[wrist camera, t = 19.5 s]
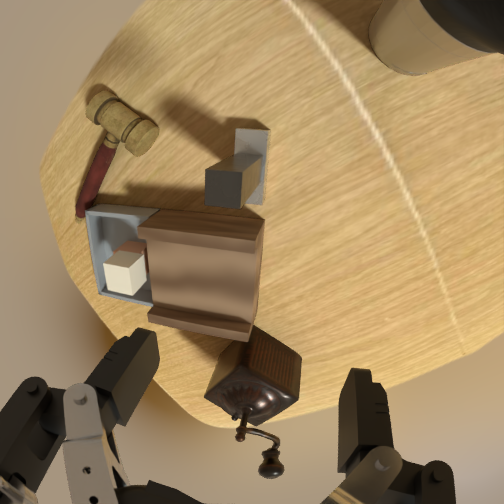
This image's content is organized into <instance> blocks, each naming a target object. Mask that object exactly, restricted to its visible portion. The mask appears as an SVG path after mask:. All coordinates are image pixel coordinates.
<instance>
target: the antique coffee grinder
mask: <svg viewBox="0 0 504 504" xmlns="http://www.w3.org/2000/svg"><path fill="white" fill-rule="evenodd" d="M301 363H302V357H301V356H300V355H298V354H297V353H296V352H295V351H294V350H292V349H291V348H289V347H288V346H286V345H285V344H283V343H281V342H280V341H278V340H277V339H275V338H274V337H272V336H270V335H269V334H267V333H265V332H264V331H262V330H260V329H259V328H257V327H255V326H254V325H253V327H252V330H251V334H250V337H249V341H248V342H244V341H238V340H234V341H233V342H232V343H231V344H230V345H229V346H228V347H227V348H226V349H225V350H224V351H223V352H222V353H221V354H220V356H219V359H218V362H217V365H216V367H215V370H214V372H213V375H212V377H211V380H210V382H209V385H208V387H207V390H206V393H205V395H204V398H206V399H207V400H209V401H210V402H212V403H214V404H215V405H217V406H219V407H221V408H222V409H223V410H224V411H225V412H227V413H228V414H230V415H231V416H232V417H231V418H232V420H234V421H236V420H237V419H238V418H239V419H241V422H240V426H239V427H237V428H236V431H237V434H236V436H235V438H236V440H237V441H238V442H242V441H244V440H245V434H246V433H249V434H254V435H259V436H262V437H265V438H267V439H270V440H272V441H273V442H274V443H273V446H272V448H269V449H267V450H266V451H263V452H262V456H263V458H264V461H263V463H262V464H261V465H260V466H259V469H258V472H259V474H260V475H261V476H263V477H264V478H267V479H268V478H269V479H273V478H277V477H279V476H281V475H282V474H283V472H284V465H282V463H281V462H280V461H279V459H278V457H279V455H280V451H278V450H277V449H278V448H279V446H280V439H279V438H278V437H276V436H275V435H273V434H270V433H267V432H264V431H262V430H258V429H255V428H247V427H246V425H247V422H248V423H250V424H252V425H254V426H258V425H260V424H262V423H263V422H265V421H267V420H269V419H270V418H272V417H274V416H275V415H277V414H279V413H280V412H282V411H283V410H285V409H287V408H288V407H289V406H291V405H292V404H294V403H295V402H296V401H298V399H299V391H300V378H301Z"/></svg>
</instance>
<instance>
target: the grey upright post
mask: <svg viewBox="0 0 504 504" xmlns="http://www.w3.org/2000/svg"><path fill="white" fill-rule="evenodd" d="M270 136H271V130H264V129H251V128H236V134H235V150H234V155H232V156H230V157H228V158H226V159H224V160H222V161H220V162H218V163H216V164H215V165H213V166H211V167H209V168H207V169H206V170H205V205H208V206H217V207H226V208H234V209H241V208H242V206H243V205H244V204H245V203H247V204H256V205H263V203H264V201H265V196H266V184H267V172H268V160H269V148H270Z"/></svg>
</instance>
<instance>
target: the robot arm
mask: <svg viewBox="0 0 504 504" xmlns="http://www.w3.org/2000/svg"><path fill="white" fill-rule="evenodd" d="M369 40H370V43H371V46H372V48H373V50H374V52H375V53H376V55H377V57H378V58H379V59H380V60H381V61H382V62H383V63H384V64H385V65H387V66H388V67H389V68H391V69H393V70H394V71H396V72H398V73H401V74H404V75H410V76H417V75H422V74H427V73H428V72H432V71H435V70H438V69H442V68H445V67H448V66H451V65H455V64H458V63H461V62H465V61H468V60H472V59H475V58H479V57H482V56H486V55H490V54H494V53H501V54H504V0H383V2H382V3H381V6H380V8H379V9H378V11H377V12H376V14H375V16H374V17H373V19H372V20H371V22H370V26H369ZM159 361H160V356H159V350H158V343H157V336H156V333H155V332H154V331H150V330H147V329H143V328H139V327H138V328H136V329H135V331H134V332H133V333H132V335H131V336H130V337H127V336H124V337H122V338H121V339H119V340H118V341H116V342H115V343H114V345H113V346H112V347H111V348H110V350H109V352H107V353H106V355H105V356H104V359H102V360H101V361H100V362H99V364H98V365H97V367H96V368H95V369H94V371H93V372H92V373H91V375H90V376H89V377H88V378H87V380H86V381H85V382H84V383H78V384H74V385H72V386H70V387H69V388H68V389H67V390H65V389H57V388H50V387H48V385H47V383H46V382H45V380H43V379H42V378H40V377H30V378H28V379H26V380H25V381H23V382H22V384H21V385H20V386H19V387H18V389H17V390H16V391H15V392H14V394H13V395H12V397H11V398H10V399H9V401H8V402H7V403H6V405H5V406H4V407H3V409H2V410H1V412H0V504H38V499H37V497H36V495H35V493H36V491H37V489H38V487H39V485H40V483H41V481H42V480H43V478H44V476H45V474H46V472H47V470H48V468H49V466H50V464H51V463H52V461H53V459H54V457H55V455H56V453H57V452H58V450H59V448H60V446H61V444H62V443H63V454H64V461H65V467H66V473H67V479H68V484H69V490H70V495H71V499H72V503H73V504H204V503H201V502H199V501H197V500H195V499H193V498H192V497H190V496H188V495H186V494H184V493H182V492H181V491H179V490H177V489H174V488H171V487H168V486H165V485H162V484H159V483H156V482H153V481H151V480H149V481H148V484H147V485H130V483H129V480H128V477H127V475H126V473H125V471H124V468H123V465H122V462H121V458H120V454H119V451H118V447H117V443H116V439H115V435H114V431H113V428H114V427H115V425H116V423H117V424H120V425H122V426H126V424H127V422H128V421H129V419H130V417H131V415H132V413H133V412H134V409H135V408H136V406H137V405H138V403H139V401H140V399H141V397H142V396H143V394H144V392H145V390H146V389H147V387H148V385H149V383H150V382H151V380H152V378H153V376H154V375H155V373H156V371H157V369H158V366H159ZM66 436H67V440H66V441H64V439H65V437H66ZM338 473H346V479H345V480H344V481H343V482H342V483H341V484H340V485H339V486H338V487H337V488H336V490H334V491H333V492H332V493H331V494H330V495H329V496H328V497H327V498H326V499H325V500H324V501H323V502H322V503H320V504H456V497H455V486H454V476H453V471H452V469H451V467H450V466H449V465H447V463H445V462H443V461H439V460H438V461H437V460H435V461H431V462H429V463H428V464H426V465H425V466H423V465H419V464H415V463H411V462H408V461H406V460H404V459H402V458H401V455H400V454H399V453H398V452H397V451H396V450H395V449H394V445H393V438H392V429H391V422H390V415H389V407H388V400H387V394H386V392H385V390H384V388H383V387H382V385H381V384H380V383H373V382H372V375H371V371H370V369H360V368H351V370H350V372H349V374H348V377H347V379H346V381H345V384H344V386H343V388H342V391H341V394H340V398H339V435H338Z"/></svg>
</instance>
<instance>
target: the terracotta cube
mask: <svg viewBox="0 0 504 504" xmlns="http://www.w3.org/2000/svg"><path fill="white" fill-rule="evenodd" d="M119 250H121V251H127V252H133V253H139V254H144V261H145V270H146V275H147V274H148V273H149V263H148V252H147V243H142V242H135V241H128V240H127V241H126V242H125V243H123V244H122V245H121V246H120V247H118V248H117V249H116V250H114V251H113V255H114V254H115V253H116V252H117V251H119Z"/></svg>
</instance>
